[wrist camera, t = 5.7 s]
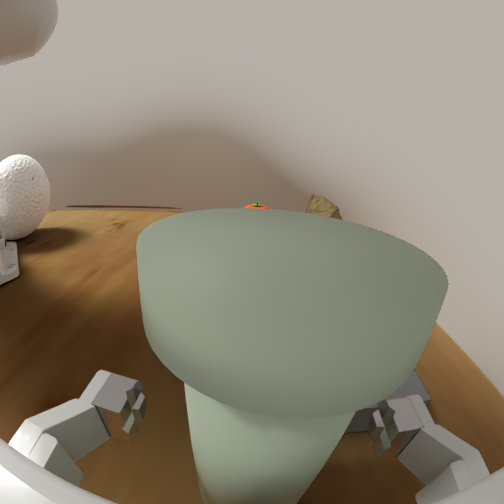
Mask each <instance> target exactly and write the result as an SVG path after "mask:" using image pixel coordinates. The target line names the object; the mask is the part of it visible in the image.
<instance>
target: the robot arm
mask: <svg viewBox="0 0 504 504" xmlns="http://www.w3.org/2000/svg"><path fill="white" fill-rule="evenodd" d="M57 18H58V6H57V2H56V0H0V65H6V64H9V63H12V62H15V61H19V60H22V59H25V58H28V57H32V56H34V55H35V54H36V53H37V52H38V51H39V50H40V49H41V48H42V47H43V46H44V45H45V43H46V42H47V41H48V40H49V38H50V36H51V35H52V33H53V31H54V29H55V26H56V23H57ZM18 275H19V263H18V251H17V245H16V242H6V240H5V238H4V231H3V223H2V218H1V217H0V285H1V284H2V283H5V282H7V281H9V280H12V279H14V278H16V277H17V276H18ZM142 389H143V387H142V384H141V381H138V380H135V379H131V378H128V377H124V376H121V375H118V374H115V373H111V372H108V371H105V370H102V369H101V370H99V371H98V372H97V373H96V375H95V376H94V377H93V379H92V380H91V382H90V383H89V385H88V386H87V388H86V389H85V391H84V392H83V394H82V395H81V397H80V398H79V399H76V398H75V399H72V400H70V401H68V402H66V403H63V404H61V405H59V406H56V407H54V408H52V409H50V410H47V411H45V412H42V413H40V414H38V415H35V416H33V417H30V418H28V419H25V421H24V422H23V423H22V425H21V426H20V428H19V429H18V431H17V432H16V433H15V435H14V436H13V438H12V439H11V441H10V442H9V444H7V443H6V442H5V441H4V440H2V439H1V438H0V504H117V503H115V502H112V501H109V500H107V499H104V498H102V497H100V496H97V495H95V494H93V493H90V492H88V491H86V490H84V489H82V488H80V487H79V486H80V483H81V481H82V479H83V477H84V474H83V472H82V470H81V469H80V468H79V467H78V466H77V465H76V463H75V462H76V461H77V460H79V459H80V458H82V457H84V456H85V455H87V454H88V453H90V452H91V451H93V450H94V449H96V448H97V447H99V446H100V445H101V444H103V443H104V442H106V441H107V440H109V439H110V437H112V438H115V439H119V440H122V441H125V442H129V443H133V441H134V439H135V436H136V434H137V432H138V427H137V423H138V422H140V421H142V420H143V417H144V415H145V410H146V399H145V396H144V395H143V394H142V393H141V391H142ZM377 407H378V410H377V411H376V412H374V413H373V414H372V416H371V418H370V419H369V425H368V428H369V434H370V437H371V438H372V439H374V440H375V443H374V445H373V448H374V452H375V455H376V459H377V460H380V459H387V458H393V457H397V459H398V460H399V461H400V462H401V463H402V464H403V465H404V466H405V467H406V468H407V469H409V470H410V471H411V472H412V473H413V474H414V475H415V476H416V477H417V478H418V479H419V480H420V481H421V482H422V483H423V484H424V485H425V487H424V488H422V489H421V490H420V491H419V492H417V494H416V495H415V498H416V501H417V504H504V467H502V468H501V469H499V470H497V471H496V472H494V473H492V474H491V475H490V473H489V471H488V469H487V467H486V464H485V462H484V460H483V458H482V456H481V454H480V452H479V450H477V449H475V448H474V447H472V446H471V445H469V444H468V443H466V442H464V441H463V440H461V439H460V438H458V437H457V436H455V435H454V434H452V433H451V432H449V431H448V430H446V429H444V428H443V427H441V426H440V425H435V423H434V421H433V419H432V417H431V415H430V413H429V411H428V409H427V407H426V406H425V404H424V402H423V400H422V398H421V396H420V395H418V394H417V395H410V396H401V397H394V398H385V399H383V400H381V401H380V402H379V403H378V405H377Z"/></svg>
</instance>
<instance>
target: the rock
mask: <svg viewBox="0 0 504 504" xmlns="http://www.w3.org/2000/svg"><path fill="white" fill-rule="evenodd" d="M306 213H309V214H315V215H321V216H326V217H331V218H336V219H340V220H342V218H341V216H340V213H339V209H338V207H337V206H335V205H334V204H333V203H332V202H330V201H329V200H328V199H326V198H325V197H323V196H318V195H317V196H316V195H311V197H310V201H309V204H308V207H307V210H306Z"/></svg>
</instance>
